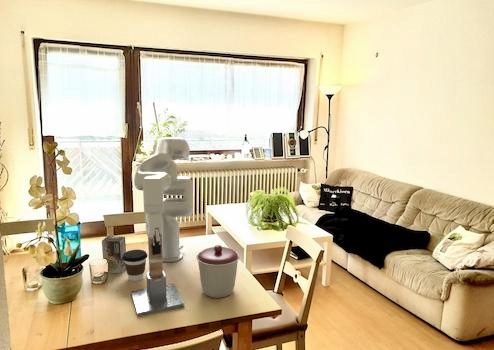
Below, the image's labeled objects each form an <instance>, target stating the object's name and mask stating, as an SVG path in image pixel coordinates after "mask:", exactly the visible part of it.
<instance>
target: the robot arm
mask: <svg viewBox="0 0 494 350" xmlns="http://www.w3.org/2000/svg"><path fill="white" fill-rule="evenodd" d="M152 147H153V148H152V149H153V151H152V154H151V156H150V157H147V158H146V159H144V160H143V161H142V162H140V163H139V164H138V166H137V168H136V171H135V173H134V179H133V183H134V187H135V189H136V190H138V191H142V192H143V193H142V195H143V213H145V233H146V235H147V238H148V237H149V238H150V239H151V238H152V240H153V245H152V254H153V255H158V254H161V244H160V238H161V237H162V258H163V261H162V263H174V262H178V261H181V260H182V258H183V257H184V254H183V253H182V252H181V250H182V249H183V248H184V244H181V243H180V224H179V222H178V220H177V219H176V218H188V217H191V216H192V215H193V211H194V186H193V185H194V183H193V180H192V178H191V177H189V176H179V175H178V164H177V163H176V162H175V160H180V161H184V160H185V161H186V160H187V159H188V158H189V156H190V153H191V152H190V146H189V143H188V142H187V140H186V139H185V138H183V137H179V136H178V137H172V136H171V137H169V136H168V137H167V136H165V137H160V138H157V139H156V141H155V143H154V144H153V146H152ZM164 195H165V196H182V197H165V198H164ZM154 236H156V237H154ZM154 239H156V240H155V241H154Z"/></svg>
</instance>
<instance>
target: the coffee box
mask: <svg viewBox="0 0 494 350" xmlns="http://www.w3.org/2000/svg"><path fill="white" fill-rule="evenodd" d="M126 247H127V246H126V236H116V235H115V236H114V235H110V236H109V235H108V236H106V237H104V238H103V239H102V240H101V250H102V260H103V259H106V260H107V263H108V274H123V273H124V272H126V267H125V262H124V260H123V258H122V256H123V255H124V253H125V252H127V250H126Z"/></svg>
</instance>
